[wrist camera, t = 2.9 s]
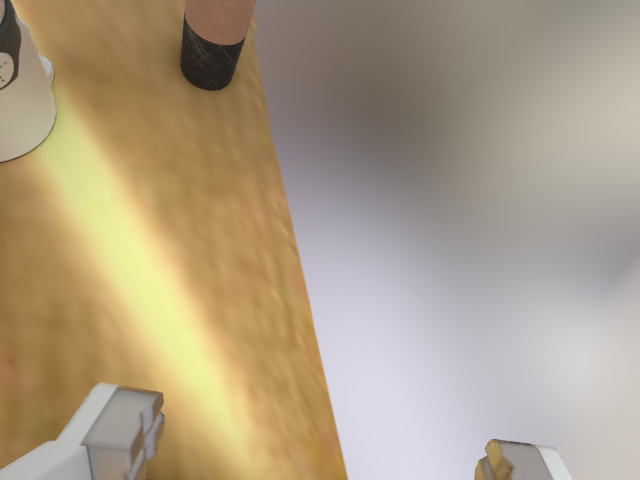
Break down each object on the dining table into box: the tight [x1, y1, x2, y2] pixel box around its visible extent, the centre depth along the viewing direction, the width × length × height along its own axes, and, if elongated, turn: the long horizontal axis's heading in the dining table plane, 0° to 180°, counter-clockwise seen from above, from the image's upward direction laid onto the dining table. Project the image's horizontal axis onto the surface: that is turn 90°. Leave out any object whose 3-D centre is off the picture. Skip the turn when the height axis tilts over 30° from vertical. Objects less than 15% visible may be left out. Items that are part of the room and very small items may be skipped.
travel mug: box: [181, 0, 256, 90], centre depth 49 cm, size 8×8×20 cm
